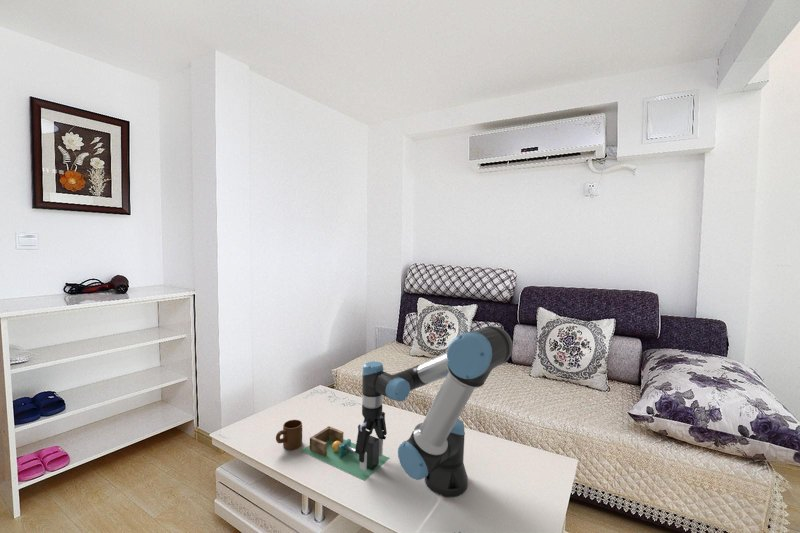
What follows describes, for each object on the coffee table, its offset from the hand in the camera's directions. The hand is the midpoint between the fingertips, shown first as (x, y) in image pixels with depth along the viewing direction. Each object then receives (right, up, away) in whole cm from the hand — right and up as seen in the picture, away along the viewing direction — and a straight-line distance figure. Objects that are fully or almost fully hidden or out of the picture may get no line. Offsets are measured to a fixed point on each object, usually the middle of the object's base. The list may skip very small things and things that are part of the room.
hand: (371, 461), depth 135 cm
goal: (-19, 0, +12) cm, 23 cm away
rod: (-5, -1, +3) cm, 6 cm away
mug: (-35, -1, +11) cm, 36 cm away
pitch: (-11, -1, +7) cm, 13 cm away
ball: (-14, +1, +9) cm, 17 cm away
